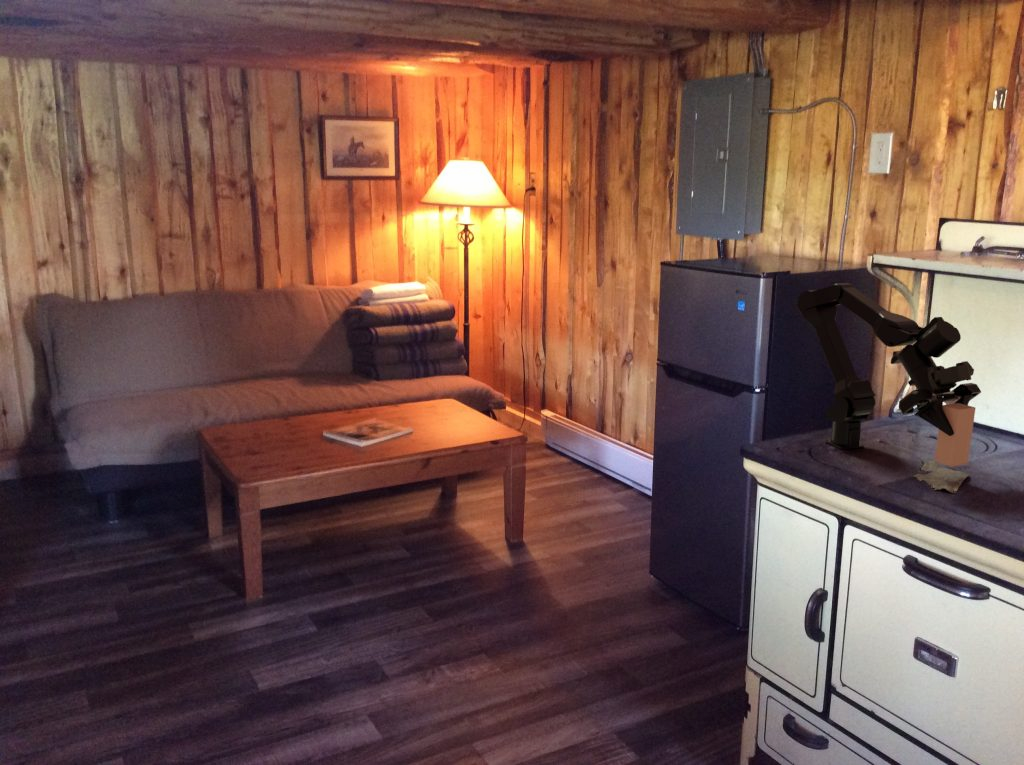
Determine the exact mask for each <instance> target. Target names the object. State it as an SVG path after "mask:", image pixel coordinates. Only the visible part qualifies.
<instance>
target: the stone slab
mask: <svg viewBox="0 0 1024 765" xmlns="http://www.w3.org/2000/svg"><path fill="white" fill-rule="evenodd" d="M920 469H921V470H922V471H925V472H929V473H925V474H924V473H919V472H920V470H918V471H917V472H918V473H917V474H915V475H913V477H915V478H916V479H917V480H918V481H920V482H922V481H925V482H926V484H927V485H929V486H930V485H931V486H930V489H931V488H932V487H933V488H935V489H934V491H936V490H942V489H945V490H946V491H947V492H949V493H951V492H953V490H954V491H956V492H957V491H958V490H959V488H960V487H961V485H962V483H963V482H964V480H965V479H966V478H968V477H969V476H970V474H969V473H968V472H964V471H961V470H953V469H951V468H947V467H943V466H941V465H940V463H938V462H936V461H935V460H926V461H925V462H924V463H923V465H922V467H921V468H920ZM956 492H954V493H953V494H955V493H956Z"/></svg>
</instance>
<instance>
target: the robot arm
mask: <svg viewBox="0 0 1024 765" xmlns="http://www.w3.org/2000/svg"><path fill="white" fill-rule="evenodd" d="M796 305H797V309H798V311H799V314H800V315H801V316H802V318H803V319H804V321H805V322H807V323H808V324H809V325H810V326H811V327H812V328H813V329H814V331H815V334H816V337H817V338H818V341H819V344H820V347H821V350H822V352H823V354H824V358H825V360H826V361H827V362H826V363H827V365H828V367H829V369H830V372H831V375H832V377H833V380H834V384H835V385H834V389H833V395H832V396H833V399H834V400H833V401H834V402H833V403H832V404H831V405H830V406H828V408H826V409H825V416H826V420H828V421H831V423H832V424H831V425H832V426H831V435H830V439H825V441H824V442H825V443H826V444H829V445H831V446H833V447H836V448H837V449H839V450H850V449H860V448H861V449H862V448H865V444H862V443H861V434H862V429H861V427H862V422H861V421H869V420H868V419H869V417H870V415H871V413H872V412H873V410H874V408H875V405H876V399H875V398H876V396H877V394H876V393H875V392H874V390H873V388H872V384H871V382H870V381H869V379H863V380H862V379H861V378H860V377H859V376H857V373H856V371H855V368H854V365H853V363H852V360H851V358H850V356H849V353H848V349H847V348H846V346H845V343H844V340H843V337H842V336H841V332H840V329H839V328H838V325H837V323H836V319H837V318H836V316H837V311H838V308H837V306H840V305H842V306H843V307H844V308H846V309H847V310H848V311H850V312H851V313H852V314H854V315H855V316H856V317H858V318H860V319H861V320H862V321H863V322H865V323H866V324H868V325H869V326H870V327H871V328H872V330H873V332H874V334H875V337H876V338H878V340H880V342H881V343H882V344H883V345H884V346H886V347H888V348H889V347H890V348H894V347H896V348H897V347H903V348H902V349H900V350H896V351H894V350H893V352H892V357H891V359H890V364H891V365H895V364H897V365H898V364H901V365H902V367H903V368H904V370H905V371H906V374H907V375H908V377H909V378H910V380H909V381H907V384H908V385H909V387H914V386H915V388H916V389H913V390H912V391H910V392H909V393H908V394H907V395H905V396H904V397H903V398H902V399H900V400H899V402H898V409H899V411H900V413H901V415H910V414H913V413H914V412H915V408H914V407H916V408H917V410H918V411H916V412H915V413H914V416H915V417H919V418H920V419H922V420H923V421H926V422H928V423H929V424H931V425H932V426H934V427H935V428H937V429H938V430H939V429H940V430H941V431H943V432H944V433H946V434H947V435H949V436H952V435H953V434H954V431H953V429H952V427H951V425H950V423H949V421H948V419H947V417H946V415H945V413H944V411H943V405H944V404H945V405H948V404H955V403H960V404H964V405H968V406H969V403H970V402H971V401H972V400H973V399H974V398H976V397H977V396H979V395H980V394H981V393H982V391H981V389H980V387H979V386H978V384H976V383H973V382H967V383H960V384H958V385H957V383H959V382H962V381H971V380H972V376H973V375H974V372H975V369H974V367H972V365H971V364H970V362H968V360H964V361H961V362H957V363H956V364H955V365H954V366H950V367H946V368H945V367H944V366H943V365H937V364H936V362H935V361H934V359H933V358H935V359H936V358H940V357H942V355H944V354H945V353H946V352H948V351H949V350H950V349H952V348H953V347H954V346H955V345H957V343H959V342H960V341H961V338H962V336H961V332H960V331H959V329H958V328H957V327H955V326H954V325H953V324H952V323H951V322H948V321H946V320H945V319H944V318H943V317H942V316H935V317H933V318H932V319H931V320H930V321H929V322H928V324H926V326H924V327H922V326H919V324H918V323H917V322H916V321H915V320H914V319H911V318H909V317H906V316H905V315H902V314H898V313H894V312H891V311H889V310H887V309H885V308H884V307H882V306H881V305H880V304H879V303H877V302H875V301H874V300H873V299H871V298H870V297H868V296H867V295H865V294H864V293H862V292H861V291H860V290H858V289H857V288H856V287H855V286H854V284H851V283H850V282H844V283H843V282H841V283H840V282H839V283H833V284H832V285H830V286H827V287H823V288H819V289H814V290H811V289H810V290H804V291H802V292H801V293H800V294H799V296H798V298H797V300H796ZM951 389H952V390H951Z"/></svg>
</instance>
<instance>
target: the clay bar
mask: <svg viewBox="0 0 1024 765" xmlns="http://www.w3.org/2000/svg"><path fill="white" fill-rule="evenodd" d="M943 411H944V413H945V415H946V417H947V419H948V421H949V423H950V425H951V427H952V429H953V431H954V434H953V435H952V436H949V435H947V434H946V433H944V432H943V431H941V430H940V429H938V430H937V431H938V433H937V441H936V447H935V455H934V462H936V463H938V464H941V465H945V466H948V467H951V468H953V467H957V466H963V465H968V464H969V456H970V451H971V450H970V449H971V443H972V436H973V435H972V434H973V428H974V420H975V414H976V407H975V406H971V405H969V404H968V405H964V404H960V403H955V404H948V405H946V404H943Z"/></svg>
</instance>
